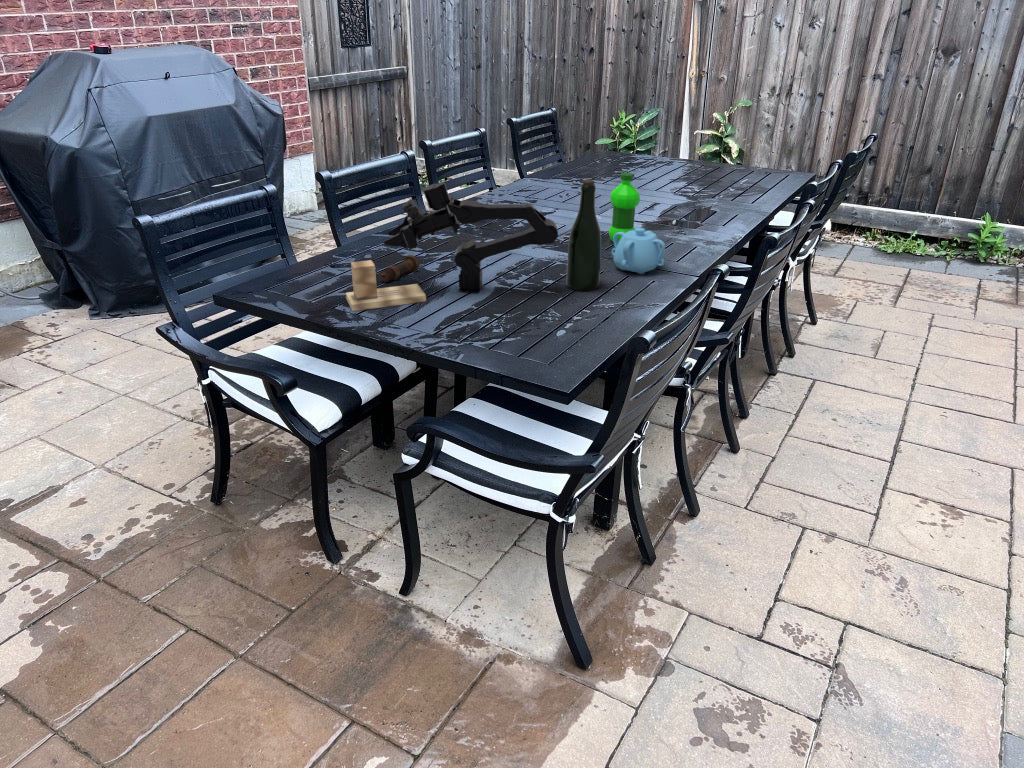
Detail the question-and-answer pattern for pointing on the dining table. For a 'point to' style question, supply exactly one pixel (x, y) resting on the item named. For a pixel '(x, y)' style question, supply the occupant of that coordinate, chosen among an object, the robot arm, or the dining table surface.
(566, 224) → the dining table surface
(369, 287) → the block
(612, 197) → the plastic bottle
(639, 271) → the decorative pot
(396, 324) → the dining table surface
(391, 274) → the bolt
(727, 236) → the dining table surface
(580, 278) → the beer bottle
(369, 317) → the dining table surface
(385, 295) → the plank
